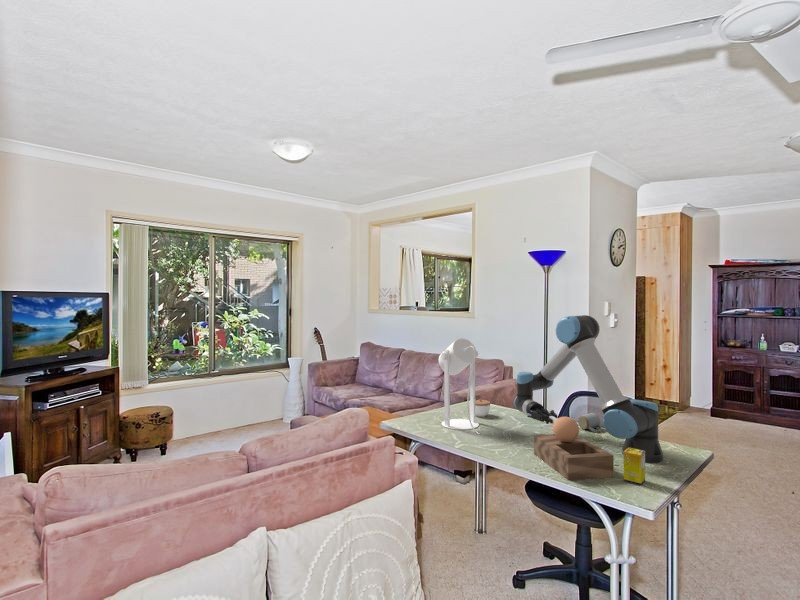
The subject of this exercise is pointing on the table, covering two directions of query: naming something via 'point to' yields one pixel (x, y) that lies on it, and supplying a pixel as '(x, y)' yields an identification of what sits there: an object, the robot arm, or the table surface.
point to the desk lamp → (452, 364)
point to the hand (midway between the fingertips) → (558, 423)
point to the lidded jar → (482, 407)
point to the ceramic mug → (589, 422)
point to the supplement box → (634, 466)
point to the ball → (566, 429)
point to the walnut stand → (574, 457)
